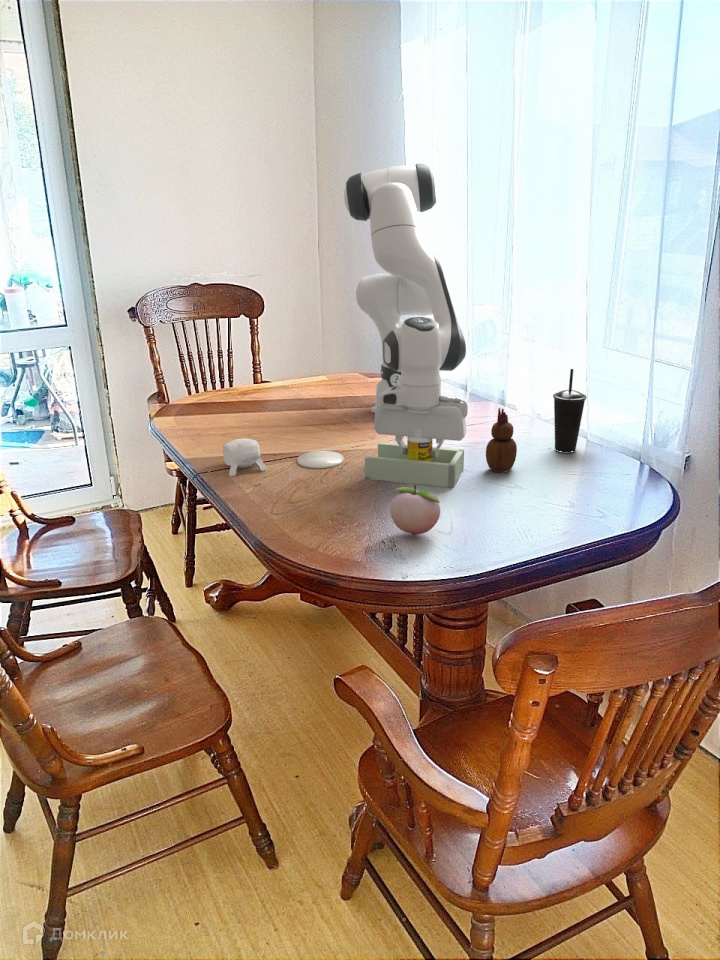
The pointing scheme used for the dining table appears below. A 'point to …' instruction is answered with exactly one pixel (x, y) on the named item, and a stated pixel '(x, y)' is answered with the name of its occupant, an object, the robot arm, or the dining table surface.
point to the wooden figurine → (501, 445)
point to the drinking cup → (567, 417)
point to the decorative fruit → (414, 510)
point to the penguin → (242, 455)
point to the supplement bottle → (419, 448)
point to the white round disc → (320, 459)
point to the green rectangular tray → (415, 467)
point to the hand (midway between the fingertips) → (419, 455)
